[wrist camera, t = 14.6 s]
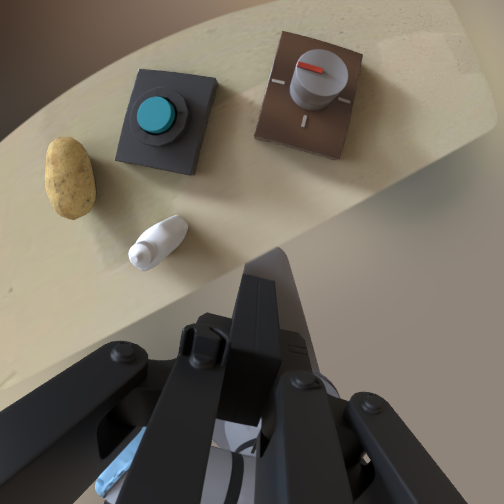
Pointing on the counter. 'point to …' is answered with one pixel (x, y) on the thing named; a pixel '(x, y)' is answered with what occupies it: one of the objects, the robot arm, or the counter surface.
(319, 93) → the dial
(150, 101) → the teal round puck
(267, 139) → the dial panel
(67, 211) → the potato
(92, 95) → the counter surface
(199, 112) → the push button box
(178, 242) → the eye dropper bottle
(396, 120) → the counter surface
